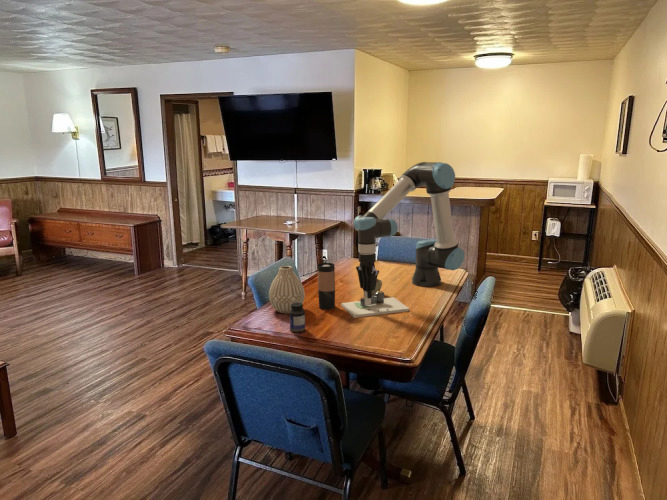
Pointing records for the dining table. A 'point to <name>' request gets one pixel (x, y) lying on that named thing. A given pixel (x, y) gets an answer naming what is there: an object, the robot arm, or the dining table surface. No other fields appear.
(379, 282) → the flower pot
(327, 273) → the travel mug
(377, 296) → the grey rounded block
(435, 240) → the robot arm
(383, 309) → the board
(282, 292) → the vase
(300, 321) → the pill bottle
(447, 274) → the dining table surface
